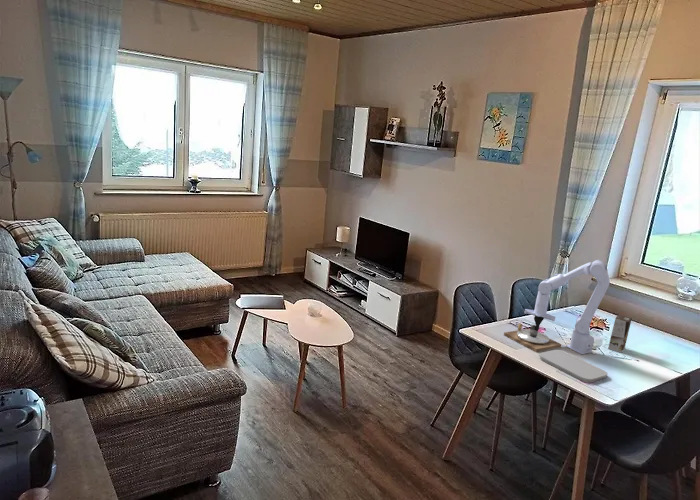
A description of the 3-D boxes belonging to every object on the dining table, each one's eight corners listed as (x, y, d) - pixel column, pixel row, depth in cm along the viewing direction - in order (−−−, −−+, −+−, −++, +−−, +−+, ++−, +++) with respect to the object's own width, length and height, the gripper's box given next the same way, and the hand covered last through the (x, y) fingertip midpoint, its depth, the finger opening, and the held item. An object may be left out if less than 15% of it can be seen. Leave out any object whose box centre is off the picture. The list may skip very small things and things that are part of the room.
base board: (560, 347, 244) (563, 336, 243) (535, 351, 236) (537, 341, 234) (528, 331, 261) (530, 321, 260) (503, 335, 252) (505, 324, 251)
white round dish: (554, 340, 248) (555, 331, 247) (539, 346, 238) (541, 338, 237) (525, 329, 258) (527, 321, 257) (511, 335, 248) (512, 327, 247)
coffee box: (621, 353, 245) (629, 322, 241) (607, 348, 249) (614, 318, 245) (625, 348, 252) (632, 317, 248) (611, 343, 256) (618, 314, 252)
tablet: (557, 353, 238) (558, 348, 237) (609, 378, 217) (610, 373, 216) (535, 358, 229) (536, 353, 229) (586, 385, 208) (587, 380, 208)
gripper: (524, 302, 250) (519, 328, 253) (554, 310, 242) (549, 337, 245) (528, 299, 256) (524, 324, 259) (558, 307, 248) (553, 333, 251)
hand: (536, 330), depth 252 cm, fingers closed, pressing on white round dish
